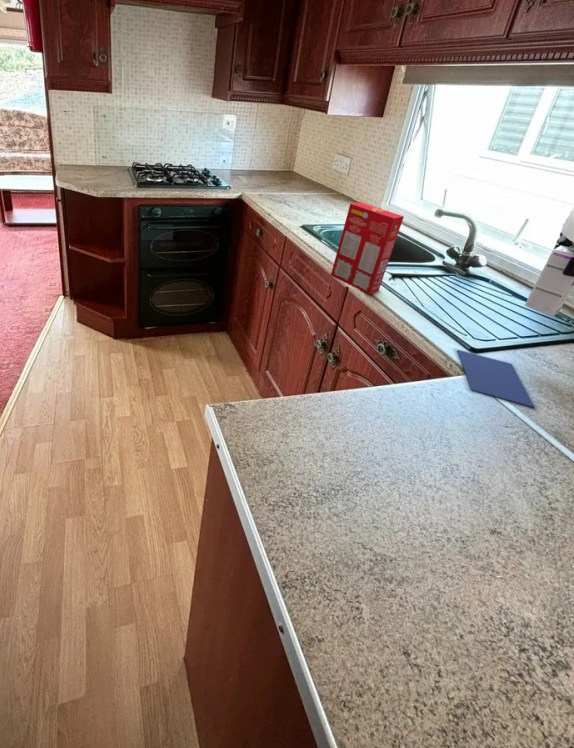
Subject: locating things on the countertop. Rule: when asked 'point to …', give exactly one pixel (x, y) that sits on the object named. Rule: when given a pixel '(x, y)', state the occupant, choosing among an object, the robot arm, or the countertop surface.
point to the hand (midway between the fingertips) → (563, 268)
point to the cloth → (494, 378)
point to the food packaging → (366, 246)
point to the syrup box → (552, 283)
